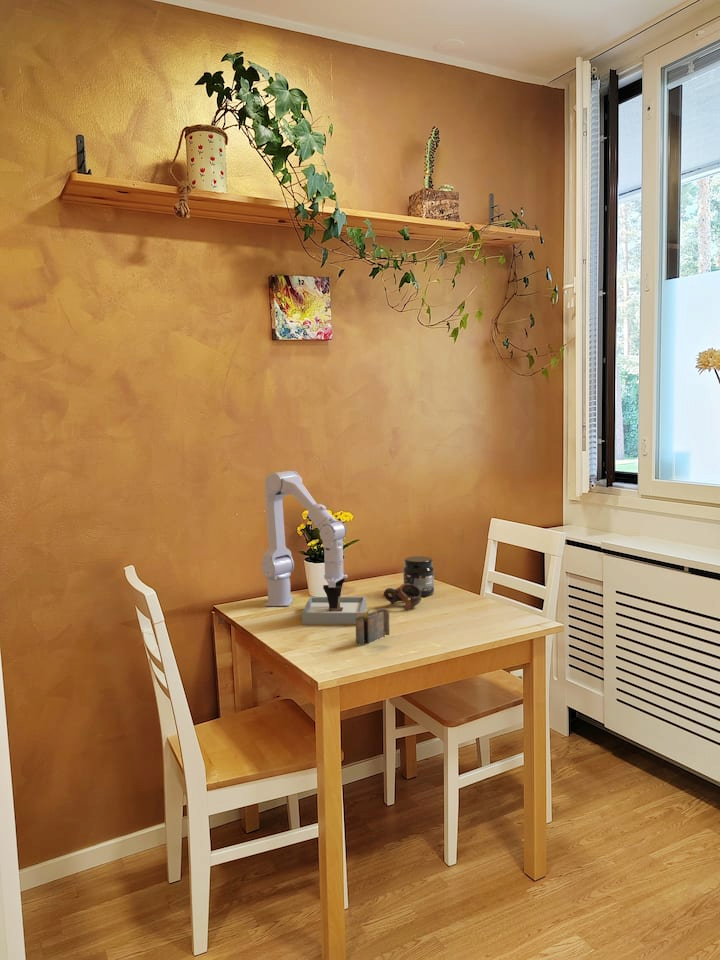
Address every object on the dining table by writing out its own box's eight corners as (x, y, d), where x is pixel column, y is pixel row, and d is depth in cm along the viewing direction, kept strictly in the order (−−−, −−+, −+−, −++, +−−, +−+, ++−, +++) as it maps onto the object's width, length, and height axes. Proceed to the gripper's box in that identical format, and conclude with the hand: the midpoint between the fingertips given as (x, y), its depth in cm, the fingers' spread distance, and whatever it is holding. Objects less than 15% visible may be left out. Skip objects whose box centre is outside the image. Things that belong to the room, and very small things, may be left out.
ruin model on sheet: (364, 647, 198) (363, 612, 197) (356, 645, 200) (355, 610, 199) (390, 636, 206) (390, 603, 205) (382, 634, 208) (381, 601, 207)
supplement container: (406, 588, 257) (405, 555, 255) (436, 590, 254) (436, 556, 253) (400, 596, 246) (400, 561, 245) (432, 598, 244) (431, 562, 243)
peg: (329, 614, 228) (329, 595, 227) (340, 614, 228) (340, 595, 227) (329, 617, 225) (328, 598, 224) (340, 617, 224) (339, 598, 224)
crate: (310, 607, 236) (309, 596, 235) (366, 607, 235) (365, 596, 234) (302, 624, 218) (301, 613, 218) (362, 624, 217) (362, 613, 216)
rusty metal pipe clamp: (414, 602, 242) (422, 583, 237) (416, 622, 234) (425, 603, 229) (379, 594, 240) (386, 576, 235) (380, 614, 232) (388, 595, 227)
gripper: (344, 566, 217) (345, 611, 218) (348, 556, 231) (349, 598, 233) (321, 566, 217) (322, 611, 219) (326, 556, 232) (327, 598, 233)
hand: (334, 604), depth 226 cm, fingers open, 7 cm apart
